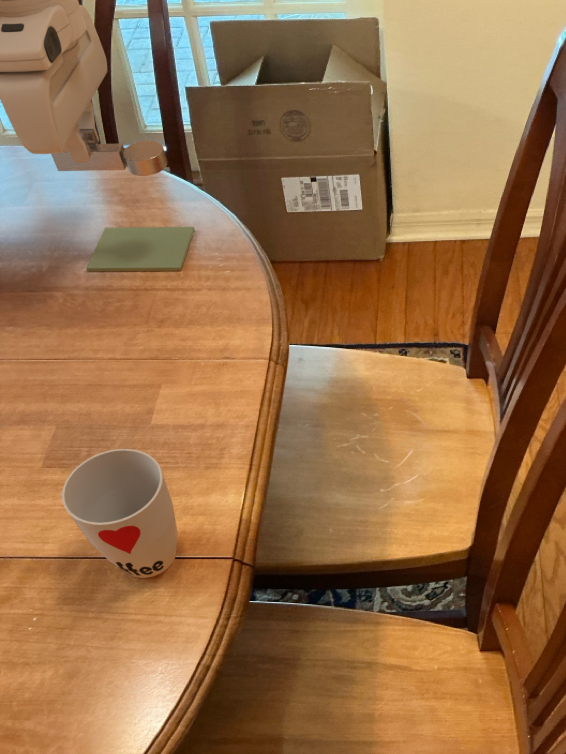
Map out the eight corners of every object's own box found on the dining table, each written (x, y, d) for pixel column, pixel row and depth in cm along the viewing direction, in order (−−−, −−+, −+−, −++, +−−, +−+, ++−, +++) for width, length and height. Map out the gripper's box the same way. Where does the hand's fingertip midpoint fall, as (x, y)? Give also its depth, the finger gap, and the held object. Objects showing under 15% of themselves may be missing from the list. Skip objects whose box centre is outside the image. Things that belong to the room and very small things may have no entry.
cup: (87, 578, 69) (41, 510, 61) (133, 511, 74) (96, 439, 66) (166, 602, 68) (129, 535, 60) (208, 531, 72) (180, 460, 64)
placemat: (87, 271, 97) (86, 268, 97) (106, 230, 102) (104, 227, 102) (181, 270, 97) (180, 267, 96) (194, 230, 102) (194, 226, 101)
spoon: (54, 177, 89) (46, 158, 87) (66, 157, 92) (58, 138, 90) (162, 175, 88) (157, 156, 86) (171, 155, 91) (166, 136, 89)
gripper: (38, -22, 84) (85, 109, 95) (-31, 61, 72) (33, 200, 83) (94, -24, 83) (135, 108, 95) (35, 59, 71) (90, 199, 83)
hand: (87, 152), depth 89 cm, fingers closed on spoon, 2 cm apart
